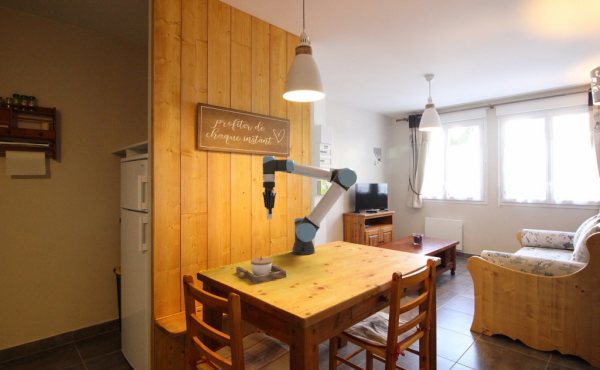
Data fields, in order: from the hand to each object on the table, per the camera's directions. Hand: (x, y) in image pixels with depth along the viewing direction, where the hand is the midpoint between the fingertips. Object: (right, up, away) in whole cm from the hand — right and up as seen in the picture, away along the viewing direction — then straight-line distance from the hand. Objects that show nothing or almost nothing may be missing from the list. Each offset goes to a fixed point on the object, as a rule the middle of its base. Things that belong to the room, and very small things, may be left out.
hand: (269, 219), depth 184 cm
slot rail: (-2, -25, -31) cm, 40 cm away
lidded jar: (-1, -25, -32) cm, 41 cm away
